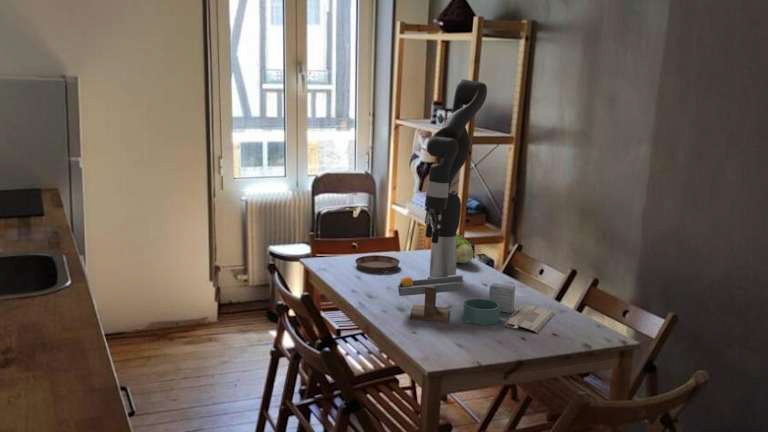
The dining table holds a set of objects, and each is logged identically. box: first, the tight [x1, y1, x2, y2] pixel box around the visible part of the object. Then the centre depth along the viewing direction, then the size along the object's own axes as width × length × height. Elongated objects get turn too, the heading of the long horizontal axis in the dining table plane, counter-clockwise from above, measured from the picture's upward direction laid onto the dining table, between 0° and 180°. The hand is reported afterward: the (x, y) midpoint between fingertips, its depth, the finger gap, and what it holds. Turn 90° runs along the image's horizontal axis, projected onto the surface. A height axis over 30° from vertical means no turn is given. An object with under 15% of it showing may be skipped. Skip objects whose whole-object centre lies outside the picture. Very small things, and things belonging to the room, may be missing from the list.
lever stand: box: [409, 276, 450, 323], centre depth 229 cm, size 11×12×11 cm
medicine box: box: [488, 282, 516, 314], centre depth 236 cm, size 8×4×9 cm, turn 71°
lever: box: [397, 273, 464, 297], centre depth 232 cm, size 15×20×5 cm
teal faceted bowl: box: [462, 297, 501, 326], centre depth 228 cm, size 11×12×5 cm
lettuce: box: [455, 233, 474, 264], centre depth 292 cm, size 12×21×11 cm, turn 21°
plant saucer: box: [354, 254, 400, 273], centre depth 281 cm, size 18×18×3 cm
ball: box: [401, 276, 414, 288], centre depth 229 cm, size 4×4×4 cm
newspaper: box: [503, 304, 556, 334], centre depth 229 cm, size 23×12×2 cm, turn 152°
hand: (431, 240), depth 249 cm, fingers open, 8 cm apart
